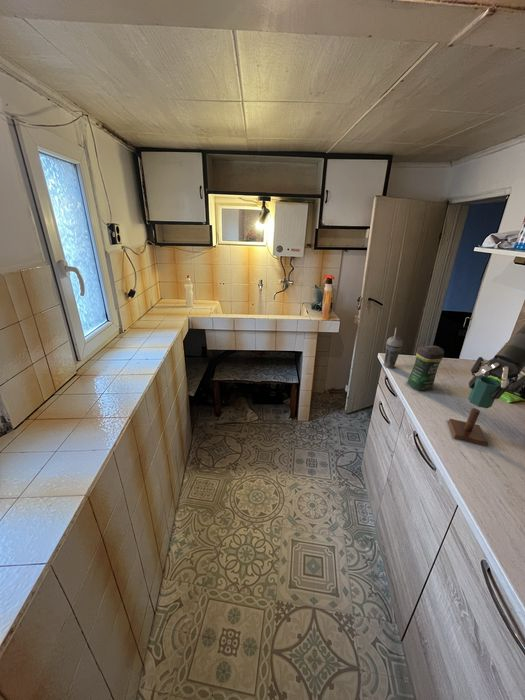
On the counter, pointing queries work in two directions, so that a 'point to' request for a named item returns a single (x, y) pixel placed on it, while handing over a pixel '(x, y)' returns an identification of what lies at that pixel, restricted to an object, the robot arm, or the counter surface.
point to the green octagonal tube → (483, 391)
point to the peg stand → (468, 429)
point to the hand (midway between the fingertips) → (481, 392)
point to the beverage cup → (392, 350)
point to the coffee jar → (425, 367)
